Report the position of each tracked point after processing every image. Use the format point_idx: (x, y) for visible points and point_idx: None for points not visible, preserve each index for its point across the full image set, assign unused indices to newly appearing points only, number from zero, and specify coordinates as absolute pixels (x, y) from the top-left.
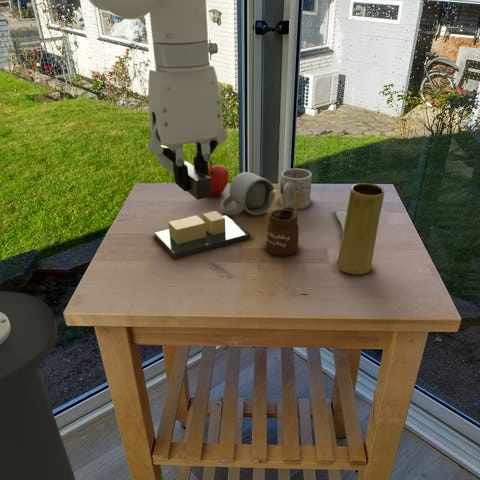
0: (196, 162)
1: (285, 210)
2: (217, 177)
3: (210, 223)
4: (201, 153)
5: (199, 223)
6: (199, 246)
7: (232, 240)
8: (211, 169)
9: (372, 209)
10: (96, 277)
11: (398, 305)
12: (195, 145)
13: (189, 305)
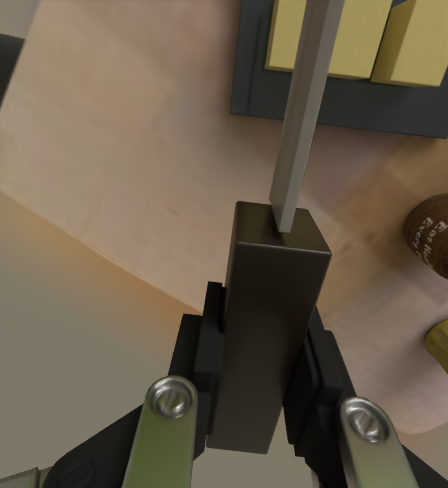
0: (300, 397)
1: None
2: None
3: (387, 72)
4: (330, 473)
5: (352, 69)
6: None
7: (391, 132)
8: None
9: None
10: (36, 78)
11: (393, 405)
12: (356, 477)
13: (173, 273)
